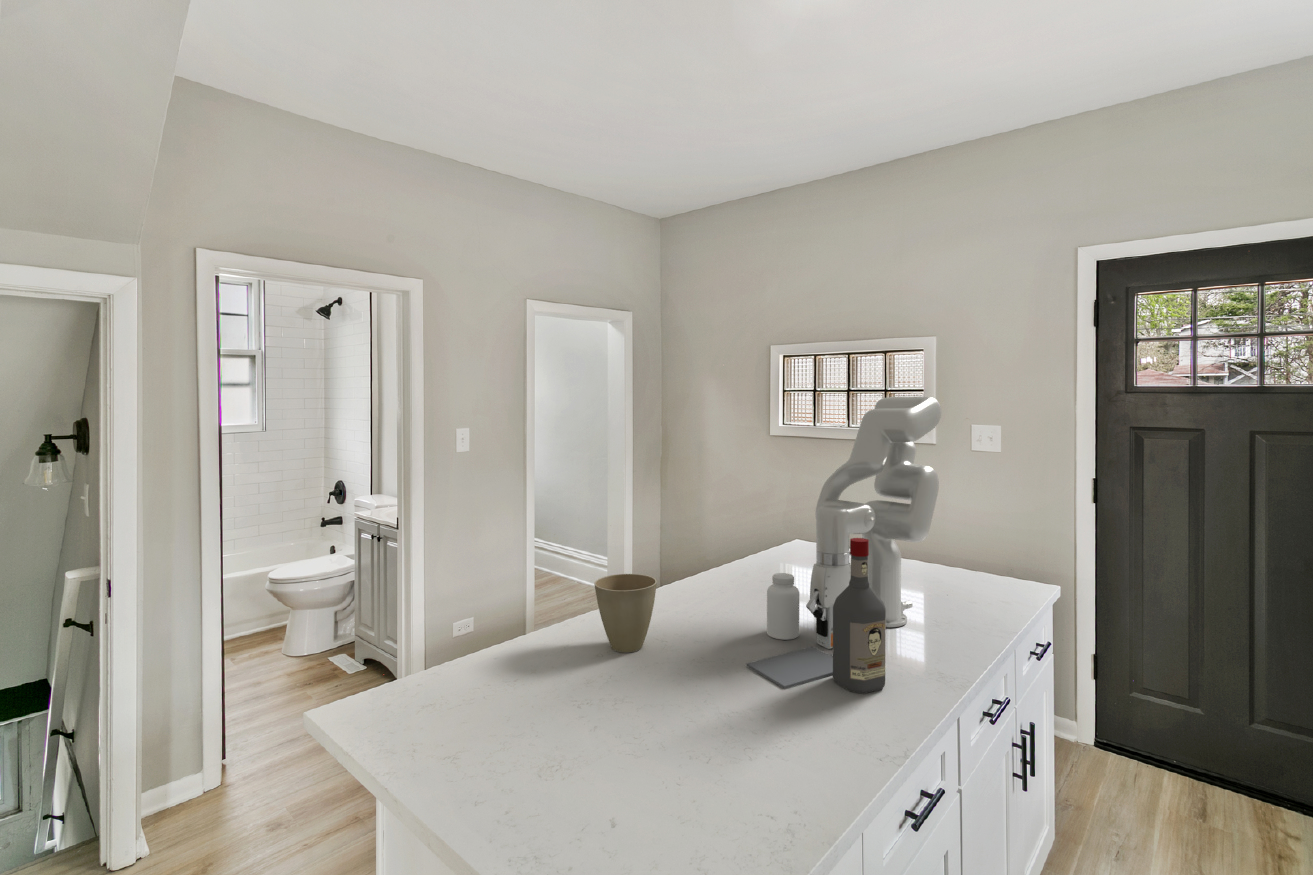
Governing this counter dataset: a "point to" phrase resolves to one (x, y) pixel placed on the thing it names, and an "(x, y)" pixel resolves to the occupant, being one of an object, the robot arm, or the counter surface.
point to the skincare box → (828, 640)
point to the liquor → (859, 629)
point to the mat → (795, 667)
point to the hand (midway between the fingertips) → (832, 631)
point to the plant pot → (626, 609)
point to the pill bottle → (783, 607)
